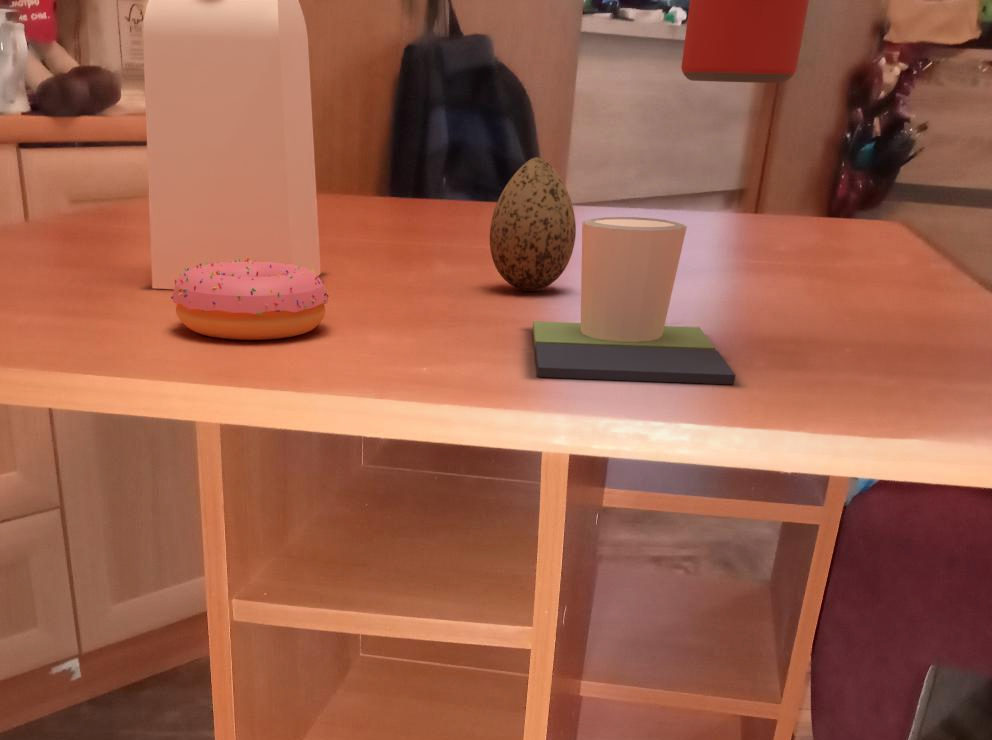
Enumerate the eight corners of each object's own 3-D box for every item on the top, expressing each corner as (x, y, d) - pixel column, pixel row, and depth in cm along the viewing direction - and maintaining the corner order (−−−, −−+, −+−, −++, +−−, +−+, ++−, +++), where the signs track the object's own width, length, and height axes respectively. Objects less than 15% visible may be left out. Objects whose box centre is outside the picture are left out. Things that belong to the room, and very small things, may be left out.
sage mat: (698, 335, 83) (700, 327, 83) (713, 356, 77) (715, 347, 77) (532, 329, 84) (533, 321, 83) (534, 350, 78) (535, 340, 77)
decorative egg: (564, 299, 95) (576, 161, 89) (479, 294, 96) (486, 158, 91) (575, 286, 101) (587, 156, 95) (494, 281, 102) (502, 153, 97)
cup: (686, 332, 81) (702, 221, 77) (646, 348, 76) (662, 231, 72) (597, 320, 84) (609, 213, 80) (554, 334, 79) (564, 221, 75)
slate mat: (715, 359, 76) (717, 350, 76) (734, 384, 70) (735, 374, 70) (534, 352, 77) (535, 343, 77) (537, 377, 71) (538, 367, 71)
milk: (320, 273, 104) (316, -88, 90) (293, 294, 94) (283, -106, 80) (192, 268, 105) (167, -89, 91) (152, 288, 96) (118, -108, 82)
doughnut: (232, 309, 88) (229, 250, 86) (357, 325, 84) (357, 263, 82) (142, 333, 80) (136, 267, 78) (274, 351, 76) (272, 283, 73)
